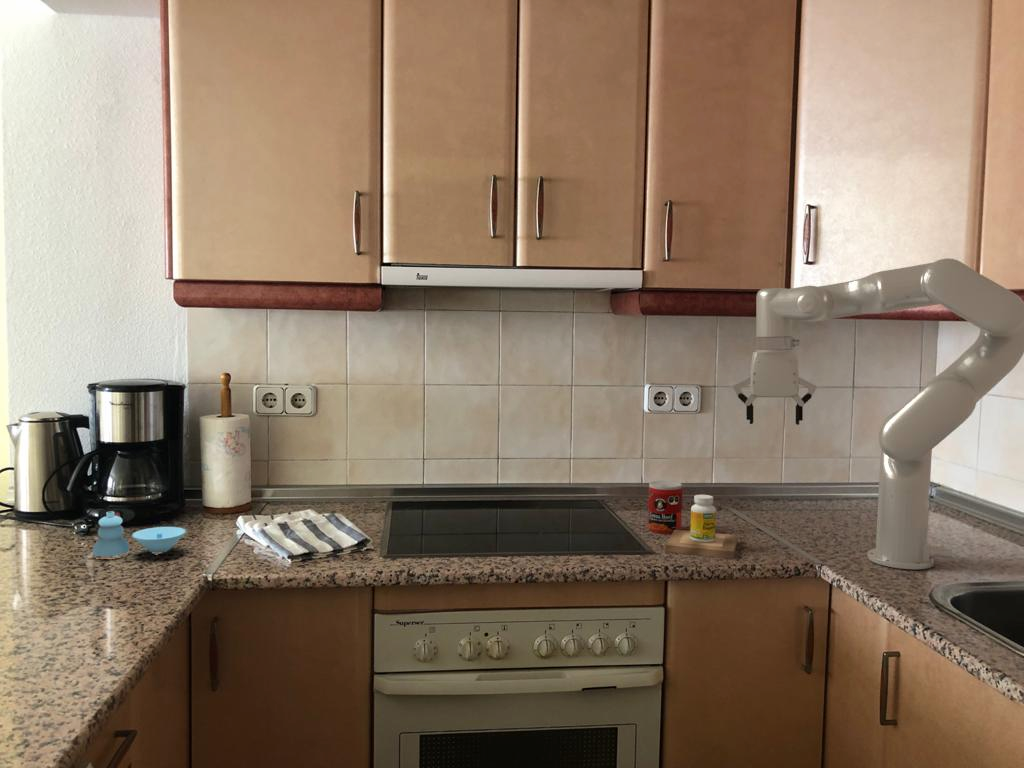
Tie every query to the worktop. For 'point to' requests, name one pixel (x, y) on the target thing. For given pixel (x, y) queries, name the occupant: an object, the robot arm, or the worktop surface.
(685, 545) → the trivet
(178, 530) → the light blue rounded pieces
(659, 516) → the canned food
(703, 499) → the supplement bottle
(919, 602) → the worktop surface
